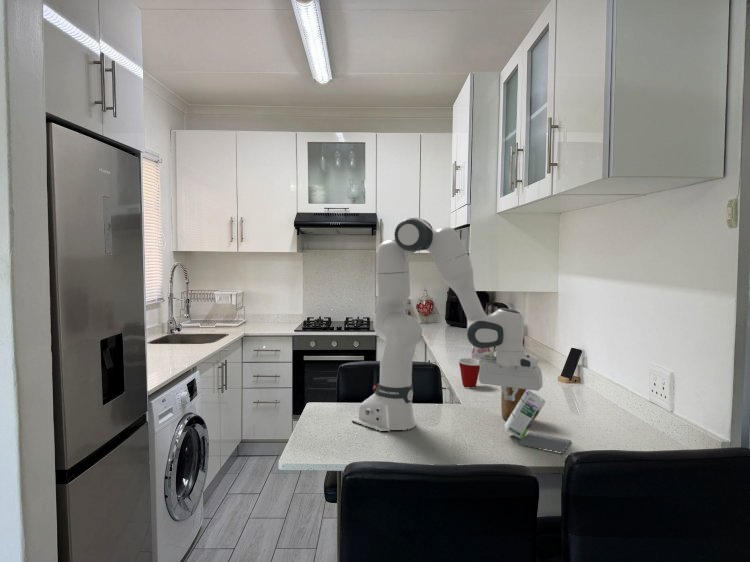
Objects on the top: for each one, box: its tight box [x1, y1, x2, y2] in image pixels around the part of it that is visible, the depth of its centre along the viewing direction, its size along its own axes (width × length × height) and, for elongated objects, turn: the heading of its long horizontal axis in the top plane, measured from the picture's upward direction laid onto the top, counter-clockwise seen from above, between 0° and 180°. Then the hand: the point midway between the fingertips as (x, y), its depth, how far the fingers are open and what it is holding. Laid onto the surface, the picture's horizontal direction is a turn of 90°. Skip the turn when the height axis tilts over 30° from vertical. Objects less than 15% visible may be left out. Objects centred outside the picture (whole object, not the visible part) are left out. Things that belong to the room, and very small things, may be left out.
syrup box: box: [504, 389, 546, 441], centre depth 159 cm, size 6×6×14 cm
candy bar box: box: [470, 344, 495, 370], centre depth 253 cm, size 11×5×16 cm, turn 89°
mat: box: [518, 431, 572, 453], centre depth 154 cm, size 13×12×1 cm
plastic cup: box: [458, 357, 480, 388], centre depth 222 cm, size 11×11×12 cm
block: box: [500, 387, 528, 422], centre depth 176 cm, size 11×8×20 cm
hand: (509, 400), depth 160 cm, fingers closed
